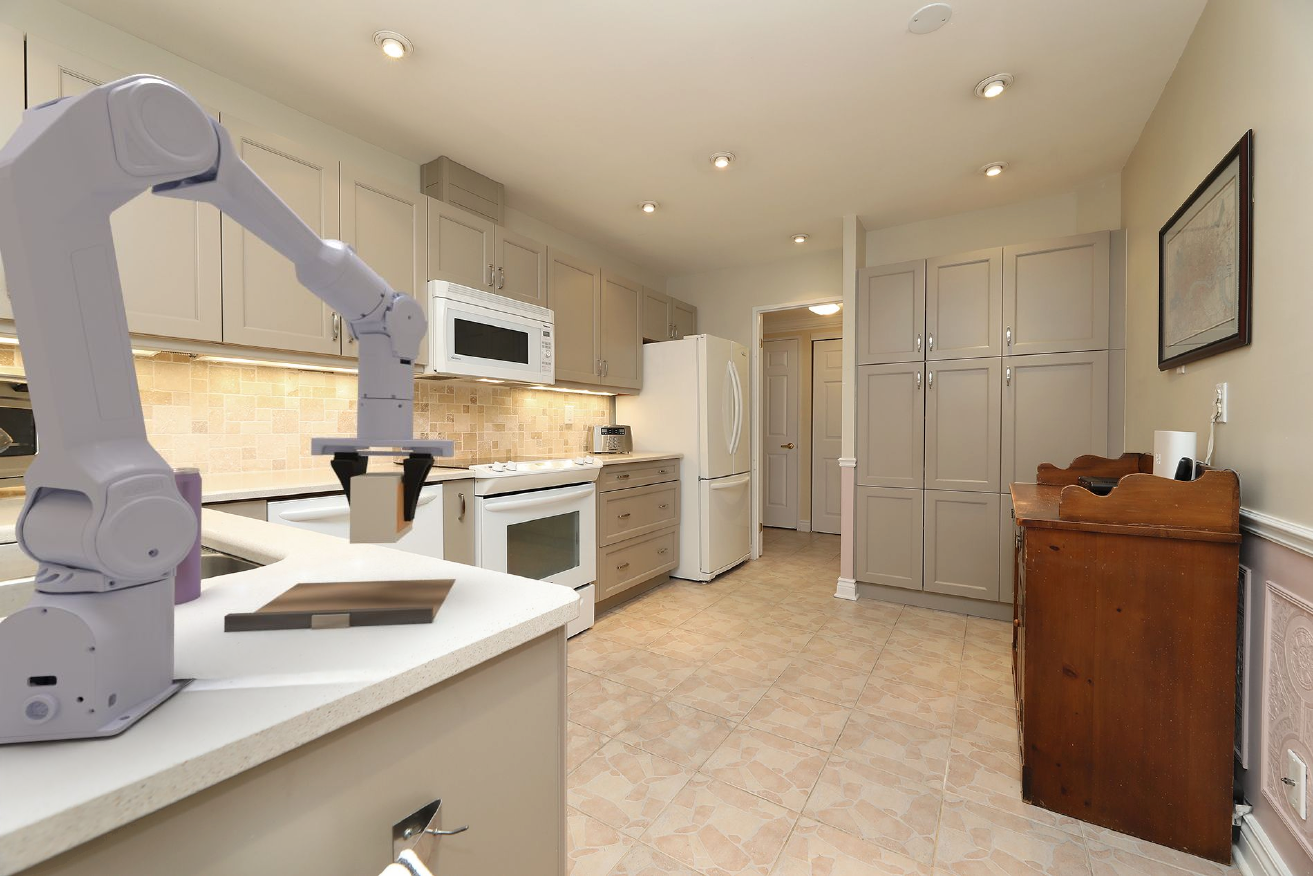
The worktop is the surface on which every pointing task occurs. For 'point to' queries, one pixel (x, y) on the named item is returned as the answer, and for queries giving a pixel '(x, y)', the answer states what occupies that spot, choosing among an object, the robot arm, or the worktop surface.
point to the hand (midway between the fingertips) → (384, 520)
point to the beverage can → (191, 564)
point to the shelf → (346, 605)
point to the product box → (378, 508)
